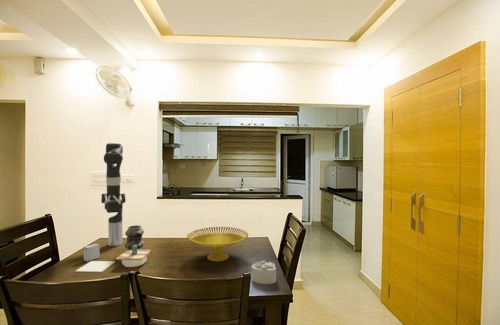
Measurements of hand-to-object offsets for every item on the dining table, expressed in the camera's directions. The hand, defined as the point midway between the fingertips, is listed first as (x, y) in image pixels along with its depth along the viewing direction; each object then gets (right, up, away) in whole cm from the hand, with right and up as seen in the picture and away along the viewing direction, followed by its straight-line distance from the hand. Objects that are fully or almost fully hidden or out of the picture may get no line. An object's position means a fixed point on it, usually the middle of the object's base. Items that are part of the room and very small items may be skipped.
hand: (113, 209), depth 165 cm
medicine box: (-14, -32, +1) cm, 35 cm away
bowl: (+15, -32, -5) cm, 36 cm away
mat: (-5, -32, -11) cm, 34 cm away
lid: (+16, -27, -5) cm, 32 cm away
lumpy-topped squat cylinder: (+94, -34, -24) cm, 103 cm away
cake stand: (+66, -33, +6) cm, 74 cm away
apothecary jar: (+8, -32, +12) cm, 35 cm away
